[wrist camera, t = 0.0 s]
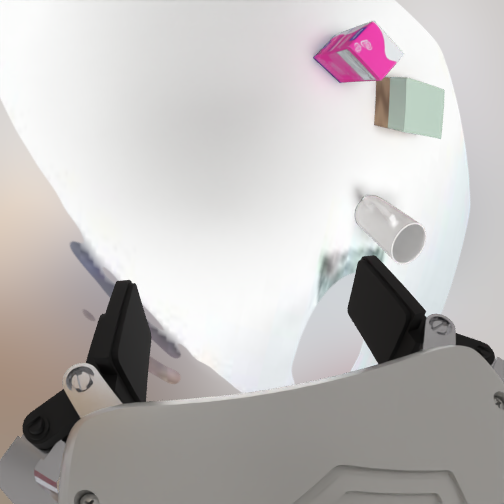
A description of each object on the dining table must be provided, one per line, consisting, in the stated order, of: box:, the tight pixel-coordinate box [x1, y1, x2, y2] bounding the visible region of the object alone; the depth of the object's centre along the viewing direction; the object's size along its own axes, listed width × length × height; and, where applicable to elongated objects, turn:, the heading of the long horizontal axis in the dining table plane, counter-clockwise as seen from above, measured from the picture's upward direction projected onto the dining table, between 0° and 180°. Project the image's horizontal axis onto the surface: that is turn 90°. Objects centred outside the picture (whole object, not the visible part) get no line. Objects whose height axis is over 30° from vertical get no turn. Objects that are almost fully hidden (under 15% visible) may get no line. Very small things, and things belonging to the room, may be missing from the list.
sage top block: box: [388, 77, 444, 139], centre depth 33 cm, size 8×8×4 cm
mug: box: [355, 195, 426, 264], centre depth 41 cm, size 10×7×12 cm, turn 43°
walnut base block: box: [374, 78, 390, 128], centre depth 36 cm, size 8×8×4 cm
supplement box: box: [314, 21, 404, 83], centre depth 29 cm, size 6×6×12 cm
